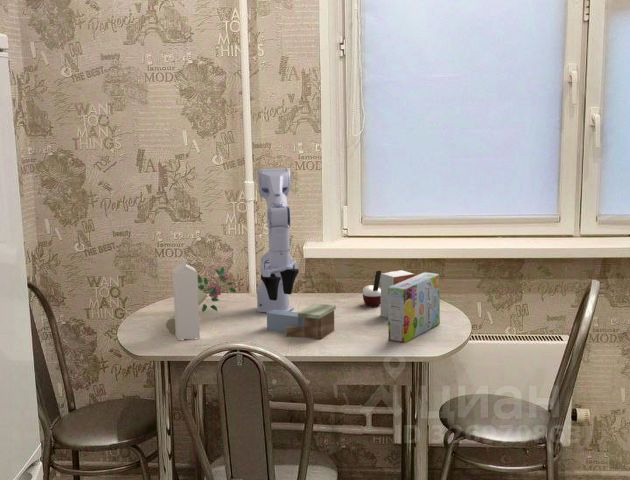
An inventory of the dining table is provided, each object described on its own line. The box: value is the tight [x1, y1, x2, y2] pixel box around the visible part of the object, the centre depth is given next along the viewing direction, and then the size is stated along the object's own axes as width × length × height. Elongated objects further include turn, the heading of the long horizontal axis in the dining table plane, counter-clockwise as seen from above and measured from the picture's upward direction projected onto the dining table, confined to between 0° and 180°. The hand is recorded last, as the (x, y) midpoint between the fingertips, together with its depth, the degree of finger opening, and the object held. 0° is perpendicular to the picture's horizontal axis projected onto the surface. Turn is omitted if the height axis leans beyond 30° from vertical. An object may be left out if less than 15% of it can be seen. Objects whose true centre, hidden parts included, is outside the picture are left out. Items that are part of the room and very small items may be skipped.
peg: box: [266, 310, 305, 333], centre depth 225 cm, size 10×4×5 cm, turn 65°
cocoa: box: [362, 270, 382, 308], centre depth 248 cm, size 10×6×12 cm, turn 177°
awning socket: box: [285, 302, 337, 340], centre depth 221 cm, size 10×12×7 cm
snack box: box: [387, 272, 441, 343], centre depth 220 cm, size 21×6×15 cm, turn 145°
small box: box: [380, 269, 415, 318], centre depth 237 cm, size 8×6×13 cm
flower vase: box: [166, 266, 238, 334], centre depth 238 cm, size 12×12×35 cm
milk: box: [172, 257, 201, 341], centre depth 217 cm, size 6×6×22 cm
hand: (280, 296), depth 224 cm, fingers open, 7 cm apart
